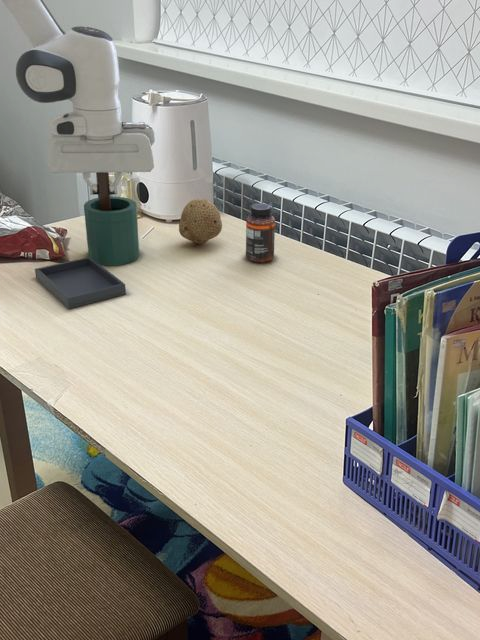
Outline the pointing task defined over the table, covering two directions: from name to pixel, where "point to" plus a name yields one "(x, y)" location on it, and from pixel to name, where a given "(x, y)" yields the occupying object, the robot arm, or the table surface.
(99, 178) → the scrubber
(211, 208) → the natural sponge
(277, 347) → the table surface
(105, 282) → the tray
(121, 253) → the jar
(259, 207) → the supplement bottle
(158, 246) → the table surface
